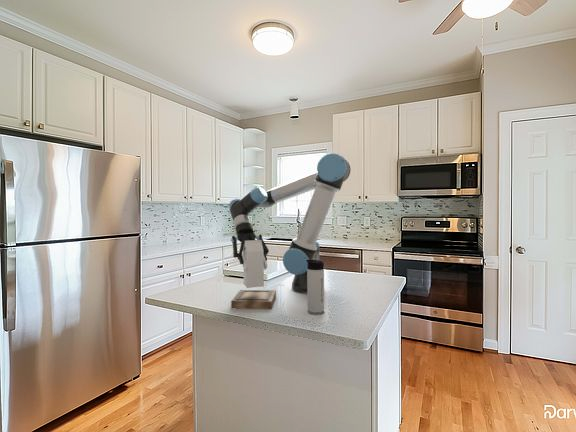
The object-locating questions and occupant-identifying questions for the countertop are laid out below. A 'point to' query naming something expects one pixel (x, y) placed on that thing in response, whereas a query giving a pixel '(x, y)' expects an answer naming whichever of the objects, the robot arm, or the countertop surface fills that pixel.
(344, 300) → the countertop surface
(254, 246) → the milk carton
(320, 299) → the travel mug
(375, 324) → the countertop surface
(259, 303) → the plinth
